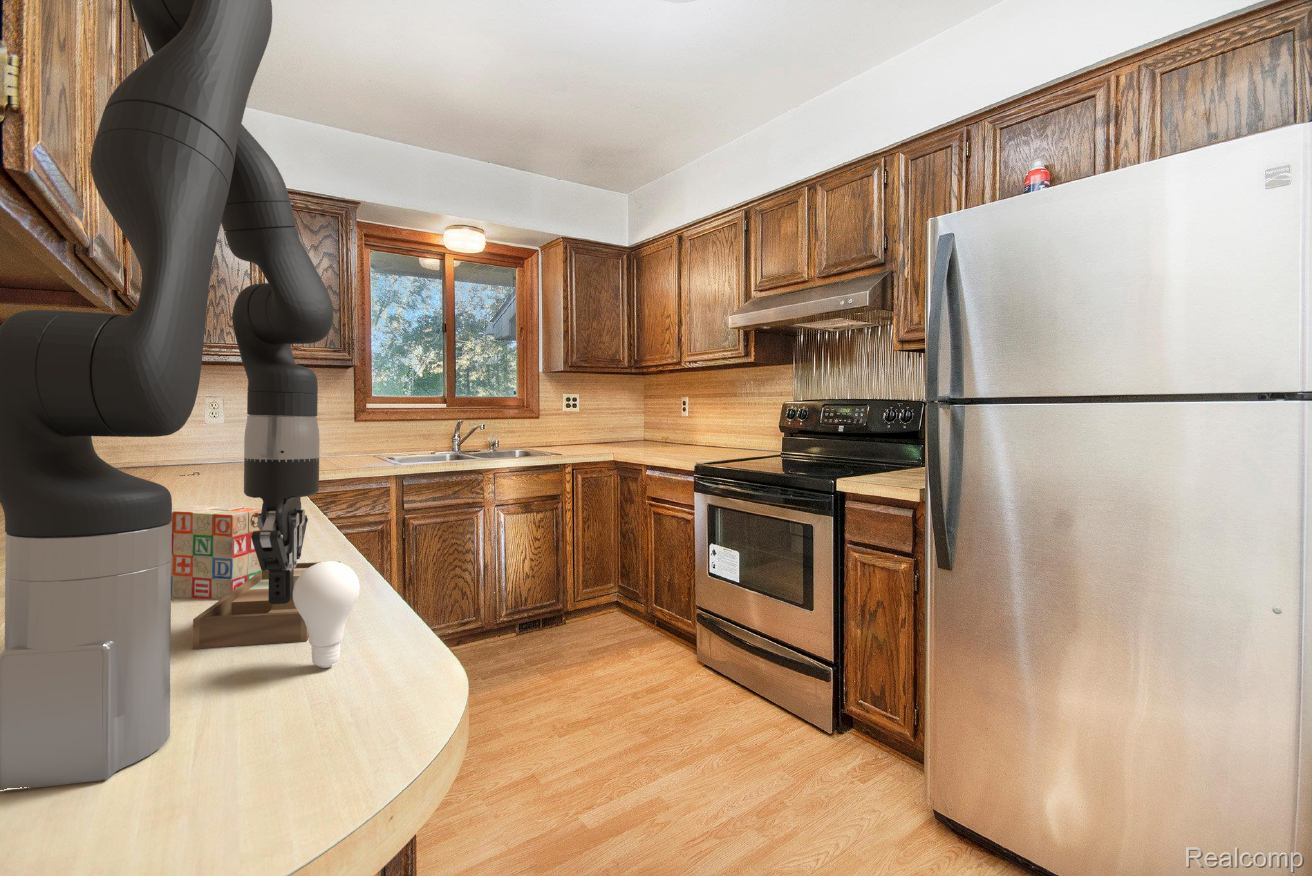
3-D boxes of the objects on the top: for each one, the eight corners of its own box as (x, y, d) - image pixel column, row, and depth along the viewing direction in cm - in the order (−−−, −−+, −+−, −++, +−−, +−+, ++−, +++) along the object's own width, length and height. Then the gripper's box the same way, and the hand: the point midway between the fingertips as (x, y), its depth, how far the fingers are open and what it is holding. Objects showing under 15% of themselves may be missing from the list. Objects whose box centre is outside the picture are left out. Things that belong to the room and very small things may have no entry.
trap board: (306, 641, 71) (307, 602, 71) (192, 649, 68) (193, 608, 68) (344, 591, 91) (344, 561, 91) (258, 595, 88) (258, 564, 88)
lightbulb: (283, 682, 60) (284, 570, 60) (301, 658, 66) (302, 556, 66) (351, 676, 62) (353, 567, 61) (363, 654, 68) (365, 554, 67)
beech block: (309, 607, 75) (309, 575, 75) (272, 609, 74) (272, 576, 74) (317, 598, 79) (317, 567, 79) (282, 600, 78) (282, 569, 78)
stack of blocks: (91, 593, 88) (91, 507, 87) (132, 582, 94) (133, 502, 94) (232, 601, 86) (233, 513, 86) (264, 589, 92) (265, 507, 92)
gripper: (303, 458, 67) (301, 617, 67) (331, 452, 79) (329, 585, 80) (223, 458, 64) (221, 622, 65) (264, 451, 77) (263, 588, 78)
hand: (281, 601), depth 72 cm, fingers closed
